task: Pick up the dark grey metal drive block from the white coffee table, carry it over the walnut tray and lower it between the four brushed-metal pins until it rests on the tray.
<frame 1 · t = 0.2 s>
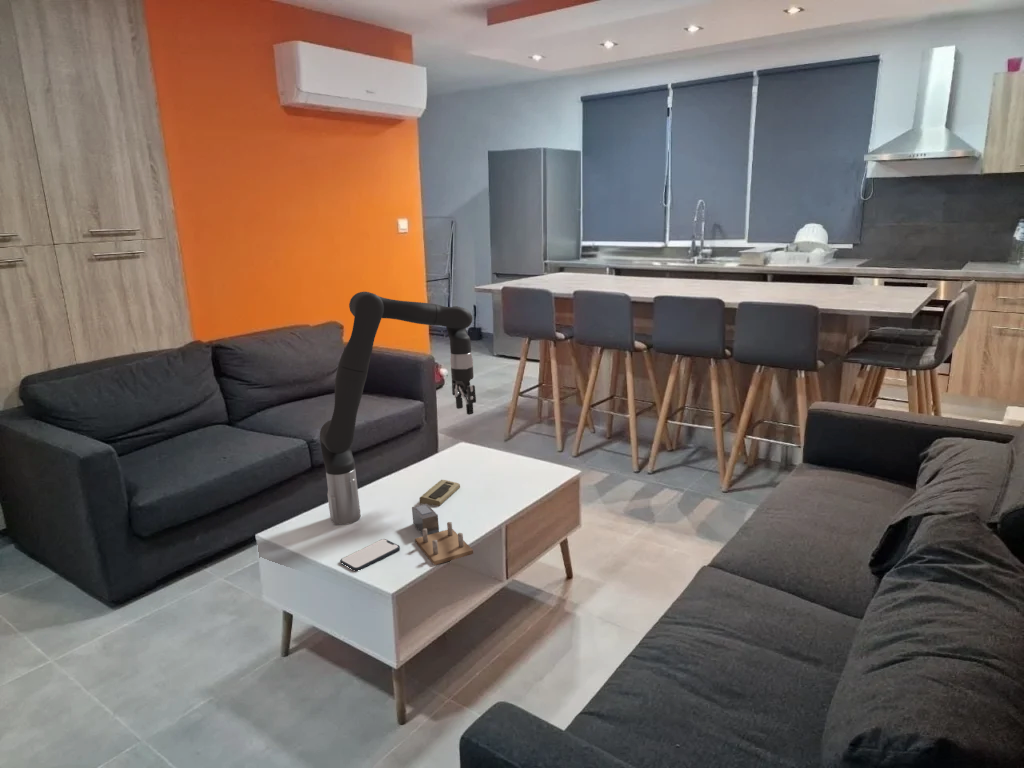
hand: (464, 411, 231), 29 cm above the table, fingers open, 8 cm apart
tray: (443, 547, 197), on the table
computer: (440, 497, 234), on the table
smartphone: (370, 558, 195), on the table
drive: (426, 528, 210), on the table
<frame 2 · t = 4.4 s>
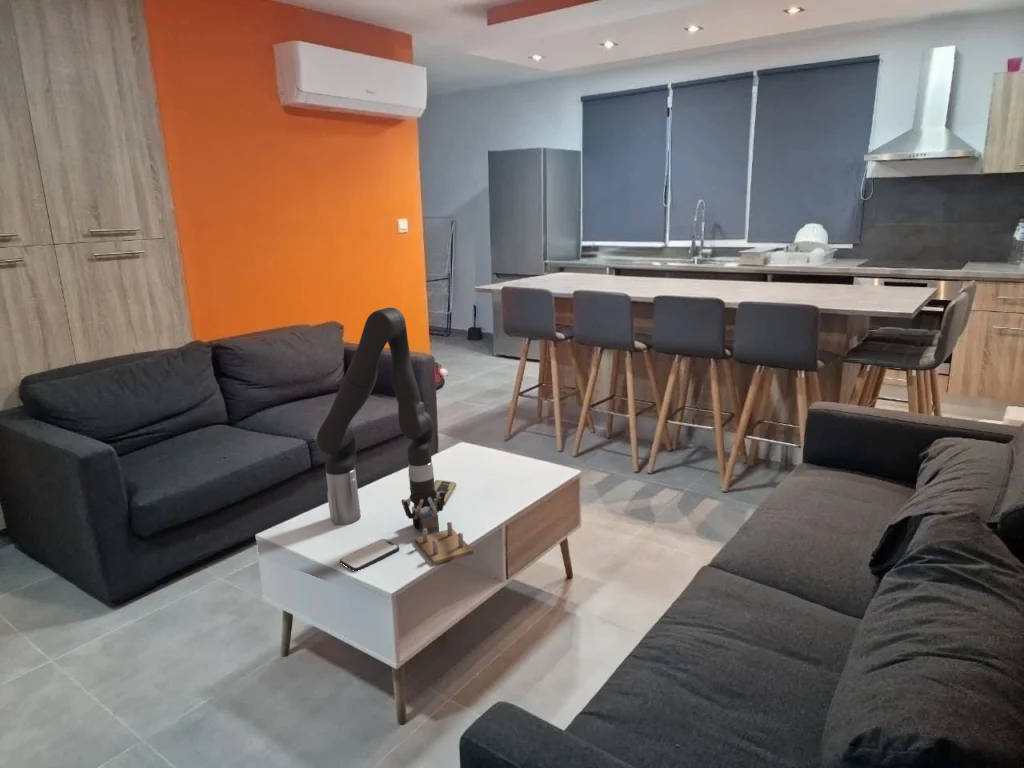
hand: (425, 526, 210), 1 cm above the table, fingers closed on drive, 5 cm apart
drive: (426, 528, 210), on the table, touching gripper
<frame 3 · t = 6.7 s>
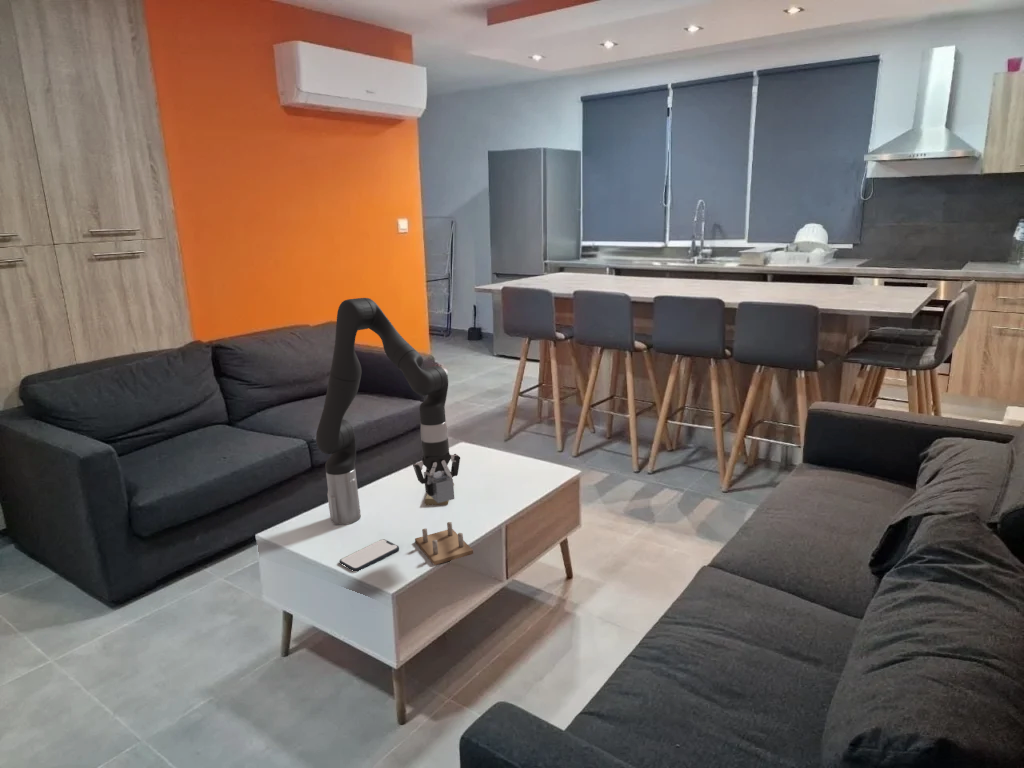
hand: (439, 492, 193), 17 cm above the table, fingers closed on drive, 5 cm apart
drive: (439, 495, 193), point 17 cm above the table, touching gripper
when the fingers open (3 cm above the table, at t = 9.4 s): drive stays where it is, resting on tray.
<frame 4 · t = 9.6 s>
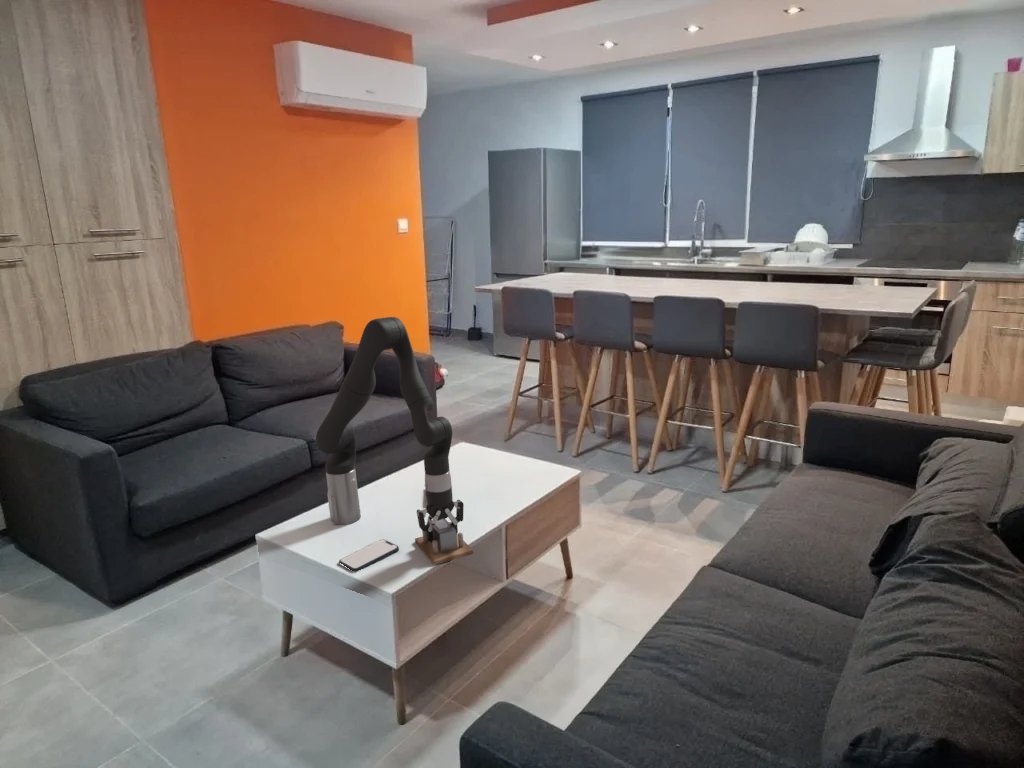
hand: (442, 538, 196), 3 cm above the table, fingers open, 6 cm apart
drive: (443, 544, 197), point 1 cm above the table, touching tray
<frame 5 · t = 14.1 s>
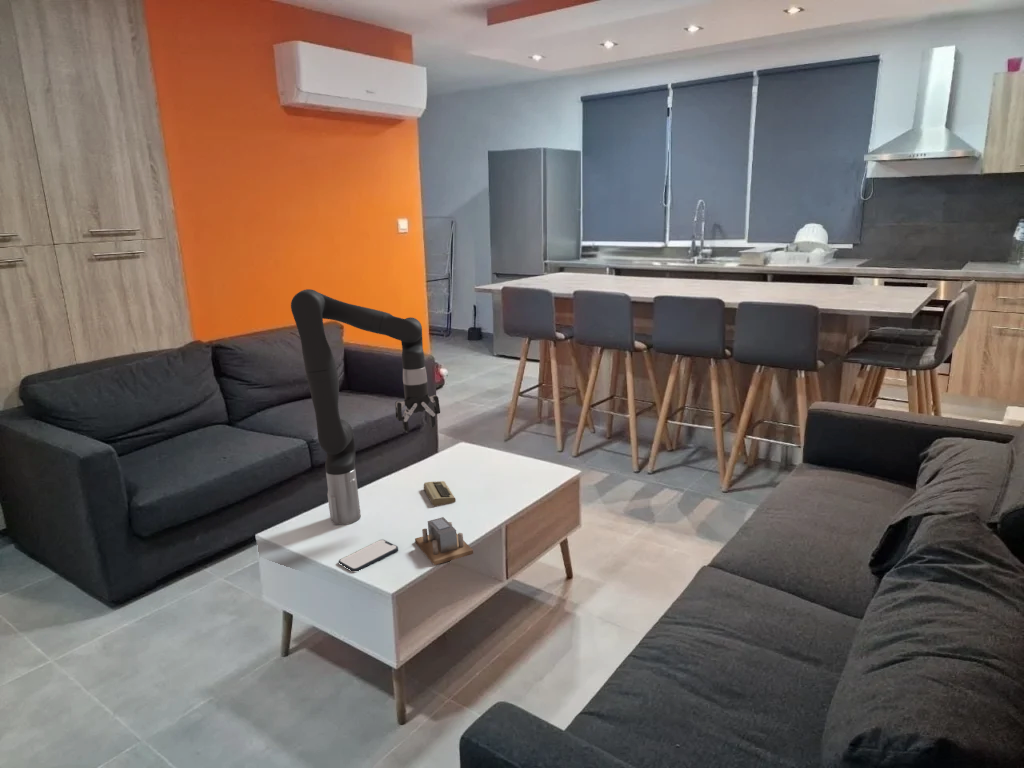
hand: (419, 429, 216), 28 cm above the table, fingers open, 8 cm apart
at the end: drive 0.0 cm off-centre on the tray, point 1.2 cm above the tray's base; drive tilted 0°; the gripper is holding nothing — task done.
